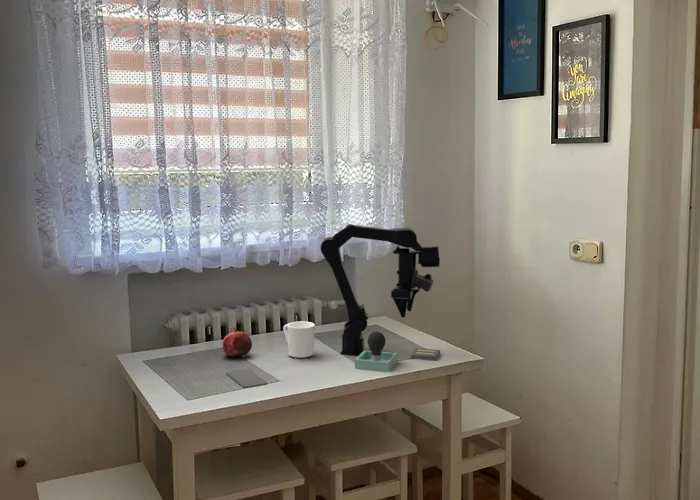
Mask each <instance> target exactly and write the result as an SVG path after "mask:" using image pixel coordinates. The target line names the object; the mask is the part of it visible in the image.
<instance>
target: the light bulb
mask: <svg viewBox="0 0 700 500" xmlns="http://www.w3.org/2000/svg"><path fill="white" fill-rule="evenodd" d="M386 343H387V342H386V337H385V335H384V333H382V332H380V331H372V332H371V333H370V334H369V335H368V337H367V345H368V347H369V349H370V351H371V352H372V359H373V361H380V355H381V352H383V348H385V345H386Z"/></svg>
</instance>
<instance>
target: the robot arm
mask: <svg viewBox="0 0 700 500" xmlns="http://www.w3.org/2000/svg"><path fill="white" fill-rule="evenodd" d="M352 238H356V239H365V240H373V241H380V242H381V241H383V242H388V243H391V244H394V245H396V247H395V248H394V249H393V250H392V253H393V254H394V255H397V256H398V258H397V259H398V262H397V264H398V266H397V269H398V270H396V275H397V276H398V277H397V283H396V287H394V288H393V289H392V290H391V292H390V293H391V294H390V297H391V298H392V300H393V301H394V304H395V305H396V308H397V309H398V312H399V314H400V317H401V318H406V314H407V311H408V312H411V311H412V309H413V305H414V302H415V299H416V298H415V297H416V295H417V294H418V293H419V292H420V291H421V290H423V291H424V292H430V291H431V289H432V288H433V287H432V286H433V285H434V279H433V277H432V274H430V273H426V274H425V275H421V274H419V271H418V269H417V264H418V265H420V267H421V268H439V267H440V260H441V259H440V253H439V251H440V250H439V246H437V245H434V246H422V244H421V243H419V242H418V237H417V234H416V232H415V231H414V230H413V229H412V228H410V227H399V228H398V227H397V228H381V227H371V226H366V225H365V226H364V225H355V224H353V223H349V224H347V225H345V227H343V228H342V229H341V230H339V231H338V232H337V233H335V234H334V235H333V236H328V237H326V238H324V239H323V240H322V241H321V244H320V252H321V254H322V255H323V257H324V259H325V261H326V262H327V263H328V265H329V267H331V270H332V272H333V276H334V278H335V280H336V282H337V284H338V285H337V286H338V288H339V290H340V293H341V295H342V298H343V301H344V304H345V305H346V313H347V317H348V321H347V322H345V323H344V325H343V331H342V332H343V333H342V335H341V342H342V343H341V349H342V350H341V351H340V355H351V356H359V355H360V354H361V353H362V352H363V351H364V350H365V338H364V336H363V335H364V334H363V333H362V332H363V331H365V330H366V329H367V327H368V320H369V314H368V312H367V311H366V308H365V307H366V306H365V303H362V304H361V305H360V303H359V302H358V300H357V298H356V295H355V293H354V289H353V287H352V285H351V282H350V279H349V277H348V274H347V271H346V269H345V267H344V263H343V261H342V260H343V259H342V254H341V249H340V248H342V247H343V245H345V244H346V243H348V241H350V239H352ZM410 248H411V249H412V250H410Z"/></svg>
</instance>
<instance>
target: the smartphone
mask: <svg viewBox="0 0 700 500" xmlns="http://www.w3.org/2000/svg"><path fill="white" fill-rule="evenodd" d="M225 374H226V376H227V377H228V378H230V379H231V380H232V381H234V382H235V383H236V382H237V383H238V385H239V386H240V387H241V386H242V387H243V389H249V388H248V387H250V388H254V387H253V386H255V387H256V386H257V387H261V386H264V385H265V386H266V384H267V385H268V382H267V381H266V380H265V379H263V378H262V377H261V376H260V375H258V374H256V373H255V372H254V371H253V370H251V369H250V368H244V369H239V370H238V369H237V370H232V371H226V373H225ZM237 383H236V384H237ZM260 385H261V386H260ZM242 387H241V388H242Z"/></svg>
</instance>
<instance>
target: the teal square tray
mask: <svg viewBox="0 0 700 500" xmlns="http://www.w3.org/2000/svg"><path fill="white" fill-rule="evenodd" d="M397 354H398V352H389V351H387V352H386V351H381V355H380V361H373V359H372V352H371V350H365V349H364V351H363V352H362V353H361V354H360V355H357V357H356V358H354V369H357V370H365V371H366V370H368V371H378V372H387V373H389V372H390V370H391V369H392V368H393V367H394V366H395V365H396V363H397V362H398V361H397V359H398V358H397Z"/></svg>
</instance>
